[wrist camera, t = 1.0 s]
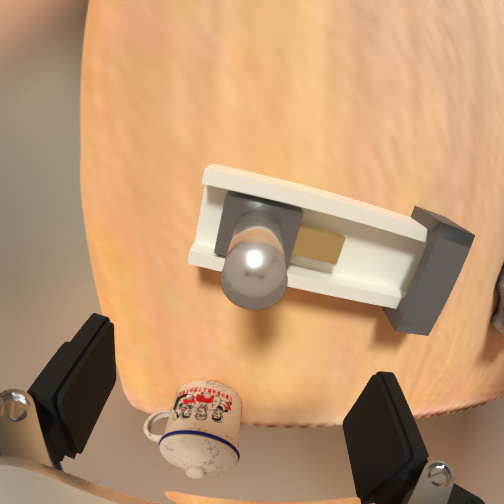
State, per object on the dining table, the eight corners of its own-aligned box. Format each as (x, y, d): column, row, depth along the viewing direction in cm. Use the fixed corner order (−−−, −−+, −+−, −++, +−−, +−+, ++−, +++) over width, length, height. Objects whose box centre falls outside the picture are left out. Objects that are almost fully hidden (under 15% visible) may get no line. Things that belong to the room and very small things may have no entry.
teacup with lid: (240, 377, 35) (232, 459, 24) (246, 421, 38) (241, 493, 27) (146, 373, 36) (116, 445, 25) (163, 417, 39) (143, 482, 28)
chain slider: (345, 219, 25) (387, 269, 16) (328, 269, 27) (356, 338, 18) (228, 190, 25) (206, 227, 16) (217, 244, 27) (192, 306, 17)
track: (452, 219, 27) (482, 238, 22) (415, 307, 30) (435, 336, 25) (215, 150, 25) (202, 155, 20) (194, 259, 29) (180, 287, 24)
